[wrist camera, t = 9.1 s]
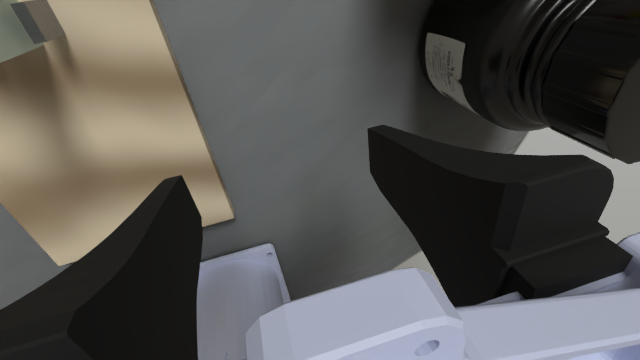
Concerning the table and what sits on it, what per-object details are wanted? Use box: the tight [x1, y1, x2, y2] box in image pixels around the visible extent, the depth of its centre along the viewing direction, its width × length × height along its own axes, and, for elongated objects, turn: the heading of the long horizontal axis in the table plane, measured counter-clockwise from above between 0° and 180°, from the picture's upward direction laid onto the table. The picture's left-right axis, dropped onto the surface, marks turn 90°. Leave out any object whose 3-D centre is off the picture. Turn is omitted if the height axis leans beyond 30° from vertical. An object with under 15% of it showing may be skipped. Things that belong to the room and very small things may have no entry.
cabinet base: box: [0, 0, 234, 266], centre depth 17 cm, size 22×12×1 cm, turn 8°
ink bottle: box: [419, 0, 640, 164], centre depth 16 cm, size 10×9×12 cm
